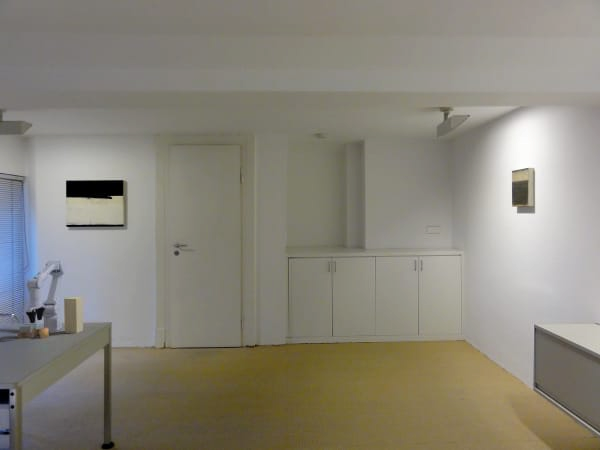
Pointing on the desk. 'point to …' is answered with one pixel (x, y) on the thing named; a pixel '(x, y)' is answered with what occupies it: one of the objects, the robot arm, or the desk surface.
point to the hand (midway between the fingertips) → (36, 321)
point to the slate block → (27, 328)
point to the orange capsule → (44, 333)
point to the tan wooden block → (73, 314)
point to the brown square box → (28, 334)
